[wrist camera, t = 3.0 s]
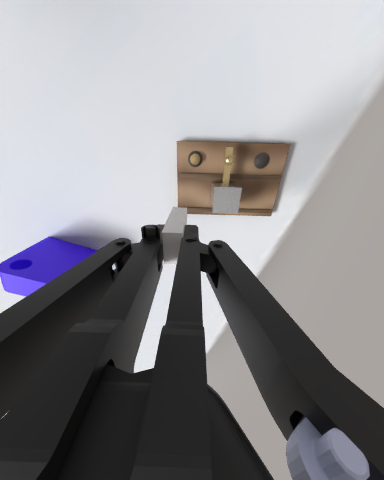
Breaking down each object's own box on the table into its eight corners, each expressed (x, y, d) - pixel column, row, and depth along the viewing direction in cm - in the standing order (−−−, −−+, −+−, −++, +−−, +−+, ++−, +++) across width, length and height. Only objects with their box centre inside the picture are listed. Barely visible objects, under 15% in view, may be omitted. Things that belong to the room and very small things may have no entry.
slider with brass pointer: (214, 147, 25) (218, 145, 21) (239, 148, 25) (248, 146, 21) (209, 204, 29) (212, 213, 25) (231, 205, 29) (237, 213, 25)
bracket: (49, 236, 36) (-12, 269, 25) (98, 250, 37) (61, 287, 27) (53, 291, 44) (9, 333, 33) (94, 300, 45) (63, 344, 35)
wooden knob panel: (177, 141, 27) (176, 140, 24) (285, 144, 26) (293, 143, 24) (178, 211, 32) (177, 215, 30) (267, 213, 32) (273, 217, 30)
